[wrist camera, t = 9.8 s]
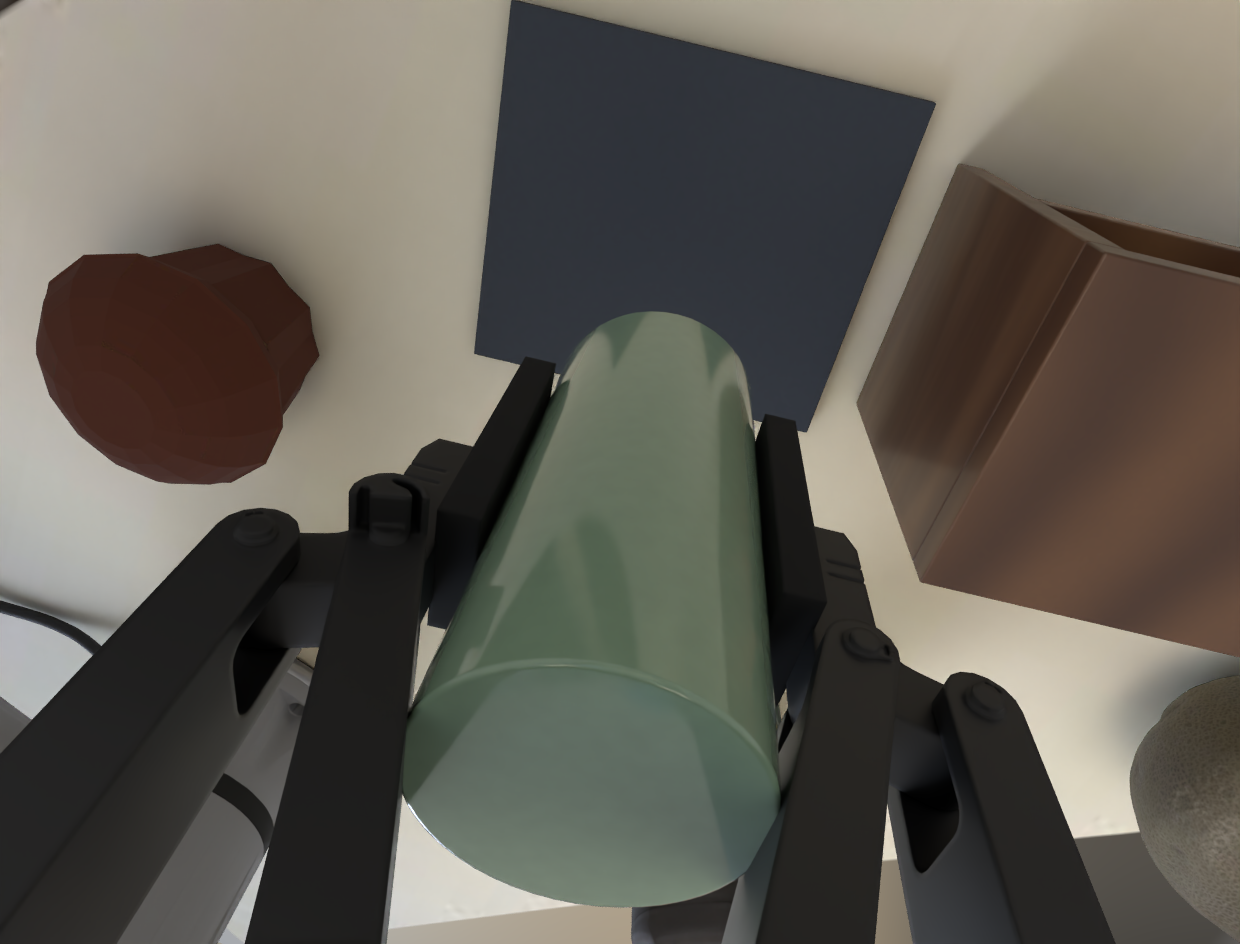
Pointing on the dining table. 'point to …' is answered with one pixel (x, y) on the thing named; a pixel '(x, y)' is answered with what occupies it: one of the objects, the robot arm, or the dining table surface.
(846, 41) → the dining table surface
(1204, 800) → the dimpled grey orange
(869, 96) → the felt mat
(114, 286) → the muffin
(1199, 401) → the wooden side table
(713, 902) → the coffee jar
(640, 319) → the canister
